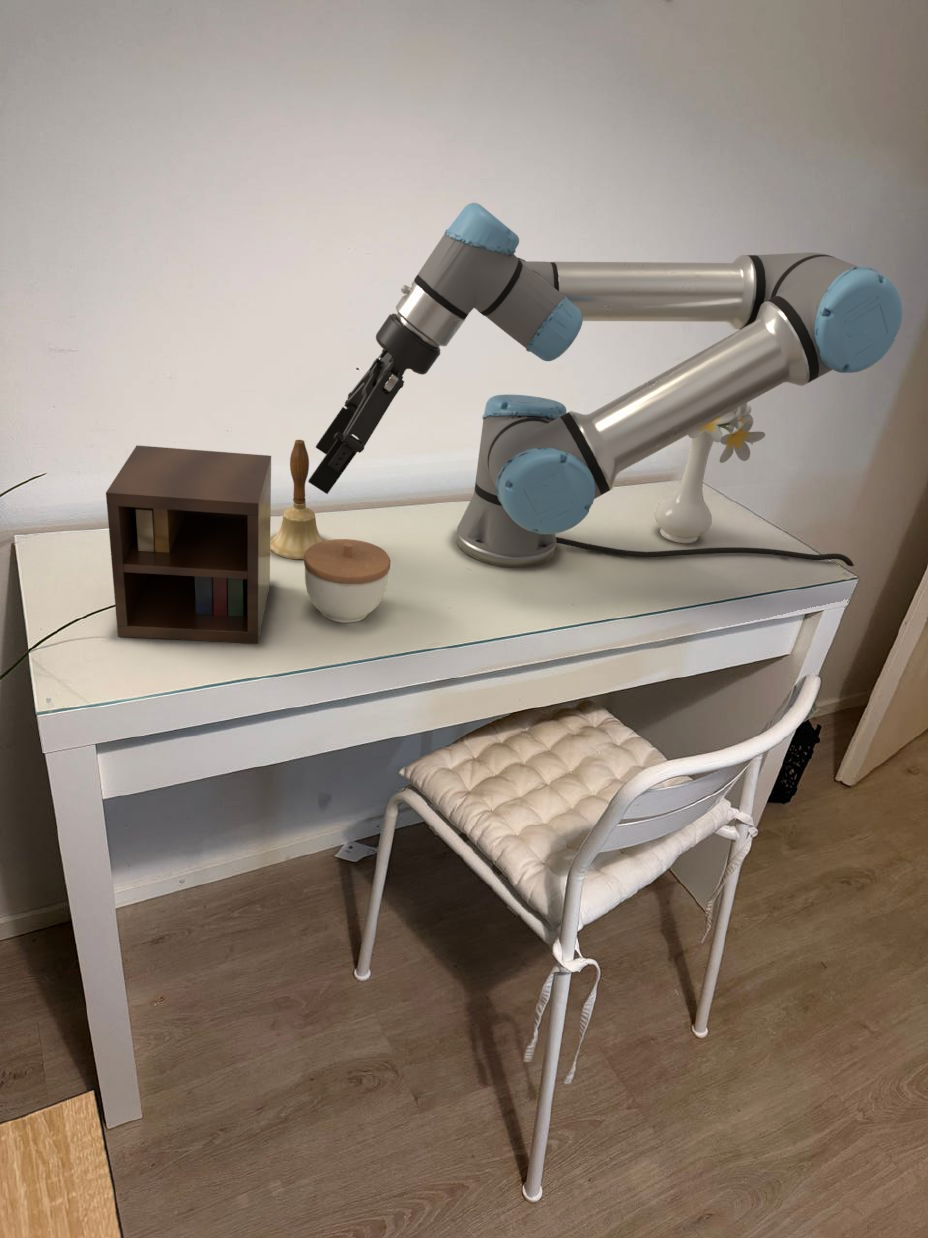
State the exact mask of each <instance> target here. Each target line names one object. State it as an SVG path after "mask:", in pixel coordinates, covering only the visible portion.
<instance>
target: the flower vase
mask: <svg viewBox="0 0 928 1238" xmlns="http://www.w3.org/2000/svg"><path fill="white" fill-rule="evenodd" d="M751 412H752V406H751V404H748V402H747V403H745V404H744V405H742V406H740V407H738V408H736V409H734V410H733V411H731V412H729V413H727V414H725V415H723V416H722V417H720V418H718V419H716V420H714V421H712V422H711V423H709V424H707V425H705V426H703V427H701V428H700V429H698V430H696V431H694V432H692V433H690V434H689V435H687V436H688V437H689V438H690V439H691V444H690V450H689V455H688V458H687V461H686V465H685V469H684V472H683V475H682V478H681V480H680V482H679V484H678V486H677V487H676V489H675V490H674V492H672V493H671V494H670V495H669V496H667V497H665V498H664V499H662V500H661V502H659V503H658V505H657V506H656V508H655V510H654V520H655V522H656V524H657V526H658V527H659V528H660V529H659V531H660V534H661V536H662V537H663V538H665V539H667V540H668V541H671V542H674V543H679V544H692V543H695V542H696V541H697V540H698V538H699V537H700V536H702V535H705V533H707V532H708V531H710V529H711V526H712V524H713V516H712V513H711V510H710V508H709V506H708V504H707V503H706V501H705V499H704V491H703V487H704V486H703V484H704V479H705V473H706V468H707V464H708V460H709V455H710V452H711V450H712V447H713V444H714V442H715V443H720V444H721V445H723V446H725V447H724V449H723V451H722V453H721V455H720V457H719V460H718V461H719V463H720V464H724V463H726V462H727V461H728V460H729V459H730V458H731V457H732V456H733V454H734V452H735V455H736V456H737V458H738V459H739V460H740V461H742V462H747V461H748V460H749V459H750V457H751V449H750V447H749V445H748V443H749V444H750V445H752V446H753V445H754V443H757V442H759V441H761V440H763V439H764V438H765V437H766V432H764V431H759V430H758V431H750V430H752V427H753V426H754V417H753V416H752V415H751ZM722 429H724V430H726V431H727V432H728V433H726V434H724V435H723V431H722Z"/></svg>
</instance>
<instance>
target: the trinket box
mask: <svg viewBox="0 0 928 1238" xmlns="http://www.w3.org/2000/svg"><path fill="white" fill-rule="evenodd" d="M303 565H304V584H305V589H306V592H307V595H308V597H309V600H310V601H311V603H312V604H313V606H314V607H315V608H316V609H317V610H318V611H319V612H320V613H321V615H322V616H323V617H325V619H328V620H330V621H332V622H336V623H341V624H342V623H343V624H348V623H349V624H352V623H357V622H360V621H362V620H364V619H366V618H367V617H368V615H369V614H371V613H372V612H374V610H376V608H377V607H378V606H379V605H380V603H381V602H382V600H383V599H384V596H385V593H386V591H387V588H388V583H389V573H390V569H391V557H390V556H389V554H388V553H387V552H386V551H385V550H384V549H383V548H381V547H380V546H378V545H375V544H373V543H370V542H367V541H363V540H358V539H352V538H351V539H350V538H348V539H347V538H335V539H334V538H333V539H327V540H325V541H322V542H319V543H316V544H314V545H312V546H311V547H309V548H308V549H307V550H306V552H305V554H304V559H303Z"/></svg>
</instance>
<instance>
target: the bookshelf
mask: <svg viewBox="0 0 928 1238" xmlns="http://www.w3.org/2000/svg"><path fill="white" fill-rule="evenodd" d="M271 498H272V455H267V454H253V453H240V452H228V451H227V452H226V451H214V450H201V449H190V448H176V447H164V446H163V447H162V446H149V445H138V444H137V445H136V446H135V447H134V449H132V452H131V453H130V455H129V456H128V458H127V459H126V461H125V462H124V464H123V466H122V467H121V468H120V470H119V472H118V473H117V475H116V476H115V477H114V480H112V482H111V484H110V485H109V487H108V489H107V490H106V492H105V500H106V511H107V523H108V533H109V534H108V535H109V545H110V546H109V547H110V559H111V571H112V582H113V583H112V584H113V595H114V607H115V619H116V620H115V621H116V631H117V637H121V638H137V639H138V638H140V639H141V638H142V639H160V640H182V641H201V642H220V643H223V642H224V643H239V644H259V641H260V635H261V630H262V626H263V621H264V615H265V611H266V606H267V601H268V594H269V591H270V587H271V549H270V541H271V521H272V520H271V515H272V513H271V511H272V510H271V508H272V507H271V505H272V504H271V503H272V502H271V501H272V499H271Z"/></svg>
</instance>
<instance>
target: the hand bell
mask: <svg viewBox="0 0 928 1238" xmlns="http://www.w3.org/2000/svg"><path fill="white" fill-rule="evenodd" d="M289 469H290V476H291V478H292V481H293V495H292V496H293V498H292V501H293V504H292V505H293V506H292V507H288V508H286V509H285V510H284V511H283V513H282V514H283V515H282V520H281V521H282V522H281V525H280V528H279V530H278V532H277V534H276V535H274V537H272V538H271V539H270V551H271V552H273V553H274V554H275V555H276V556H277V555H278V556H279V557H281V558H286V559H289V560H304V554H305V552H306V550H307V549H308V548H309V547H311V546H312V545H314V544H316V543H319V542H322V541H326V539H325V538H324V537H322V536H321V534H320V533H319V529H318V526H317V520H316V513H315V512H314V510H313V509H311V508H309V507H307V504H306V482H307V479H308V475H309V470H310V459H309V453H308V450H307V447H306V444H305V440H303V439H296V440H294V445H293V448H292V450H291V453H290V458H289Z"/></svg>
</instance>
